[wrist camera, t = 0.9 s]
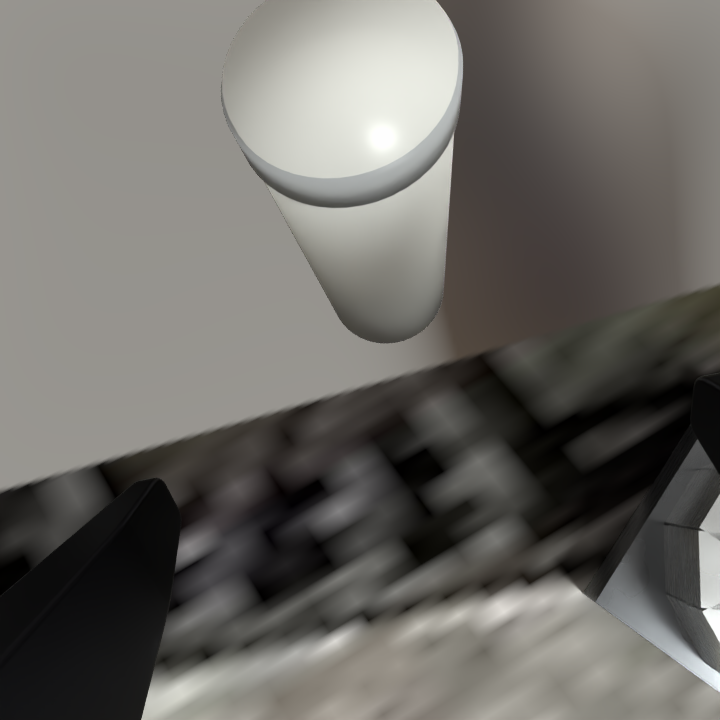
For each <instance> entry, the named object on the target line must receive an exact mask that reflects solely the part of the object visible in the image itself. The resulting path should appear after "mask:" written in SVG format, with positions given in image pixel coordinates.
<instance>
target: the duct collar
mask: <svg viewBox="0 0 720 720" xmlns="http://www.w3.org/2000/svg"><path fill="white" fill-rule="evenodd" d="M583 594H585V595H586V596H587V597H589V598H590V599H592V600H593V601H594V602H596V603H597V604H598V605H600V606H601V607H603V608H604V609H605V610H607V611H608V612H609V613H611V614H612V615H614V616H615V617H616V618H618V619H619V620H620V621H622V622H623V623H625V624H626V625H627V626H629V627H630V628H631V629H633V630H634V631H636V632H637V633H638V634H640V635H641V636H642V637H644V638H645V639H647V640H648V641H649V642H651V643H652V644H653V645H655V646H656V647H657V648H659V649H660V650H662V651H663V652H664V653H666V654H667V655H668V656H670V657H671V658H673V659H674V660H675V661H677V662H678V663H679V664H681V665H682V666H684V667H685V668H686V669H688V670H689V671H690V672H692V673H693V674H695V675H696V676H697V677H699V678H700V679H701V680H703V681H704V682H706V683H707V684H708V685H710V686H711V687H712V688H714V689H715V690H717V691H718V692H719V693H720V475H719V474H718V472H717V470H716V469H715V467H714V465H713V464H712V462H711V461H710V459H709V457H708V456H707V454H706V452H705V451H704V449H703V447H702V446H701V444H700V443H699V441H698V439H697V438H696V436H695V434H694V432H693V430H692V427H691V424H690V425H689V427H688V428H687V430H686V431H685V433H684V435H683V436H682V438H681V439H680V441H679V443H678V444H677V446H676V447H675V449H674V451H673V452H672V454H671V455H670V457H669V458H668V460H667V462H666V463H665V465H664V466H663V468H662V470H661V471H660V473H659V474H658V476H657V477H656V479H655V481H654V482H653V484H652V485H651V487H650V489H649V490H648V492H647V493H646V495H645V497H644V498H643V500H642V501H641V503H640V504H639V506H638V508H637V509H636V511H635V512H634V514H633V516H632V517H631V519H630V520H629V522H628V523H627V525H626V527H625V528H624V530H623V531H622V533H621V535H620V536H619V538H618V539H617V541H616V543H615V544H614V546H613V547H612V549H611V550H610V552H609V554H608V555H607V557H606V558H605V560H604V562H603V563H602V565H601V566H600V568H599V569H598V571H597V573H596V574H595V576H594V577H593V579H592V581H591V582H590V584H589V585H588V587H587V588H586V590H585V592H584V593H583Z"/></svg>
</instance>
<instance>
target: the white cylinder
mask: <svg viewBox="0 0 720 720" xmlns="http://www.w3.org/2000/svg"><path fill="white" fill-rule="evenodd" d="M462 77H463V56H462V50H461V44H460V41H459V38H458V35H457V32H456V30H455V28H454V26H453V24H452V22H451V21H450V19H449V18H448V16H447V14H446V13H445V11H444V10H443V9H442V7H441V6H440V5H439V4H438V2H437V1H436V0H266V1H265V2H263V3H262V4H261V5H260V6H259V7H258V8H257V9H256V10H255V11H254V12H253V13H252V14H251V15H250V16H249V17H248V18H247V19H246V21H245V22H244V23H243V25H242V26H241V28H240V29H239V30H238V32H237V34H236V36H235V38H234V39H233V41H232V43H231V46H230V48H229V50H228V53H227V56H226V60H225V63H224V67H223V76H222V85H221V99H222V106H223V111H224V115H225V118H226V121H227V124H228V126H229V128H230V130H231V132H232V134H233V135H234V137H235V139H236V141H237V143H238V144H239V146H240V148H241V150H242V152H243V153H244V155H245V157H246V159H247V160H248V162H249V164H250V166H251V167H252V168H253V170H254V171H255V172H256V173H257V175H258V176H259V177H260V178H261V179H262V180H263V181H264V182H265V184H266V186H267V187H268V189H269V191H270V193H271V195H272V197H273V199H274V200H275V202H276V204H277V206H278V207H279V209H280V211H281V213H282V215H283V217H284V219H285V220H286V222H287V224H288V226H289V228H290V229H291V231H292V233H293V235H294V237H295V239H296V240H297V242H298V244H299V246H300V248H301V250H302V251H303V253H304V255H305V257H306V259H307V260H308V262H309V264H310V266H311V267H312V270H313V271H314V273H315V275H316V277H317V279H318V280H319V282H320V284H321V286H322V288H323V290H324V291H325V293H326V295H327V297H328V298H329V300H330V302H331V304H332V306H333V308H334V310H335V311H336V313H337V315H338V317H339V319H340V320H341V321H342V323H343V324H344V325H345V326H346V327H347V328H348V329H349V330H350V331H351V332H352V333H354V334H355V335H357V336H359V337H360V338H363V339H365V340H368V341H372V342H376V343H395V342H400V341H404V340H406V339H409V338H411V337H413V336H415V335H417V334H418V333H420V332H421V331H423V330H424V329H425V328H426V327H427V326H428V325H429V324H430V323H431V322H432V320H433V319H434V318H435V316H436V314H437V313H438V310H439V308H440V306H441V302H442V299H443V291H444V275H445V260H446V245H447V230H448V215H449V200H450V185H451V170H452V154H453V139H454V131H455V128H456V125H457V121H458V117H459V109H460V103H461V90H462Z"/></svg>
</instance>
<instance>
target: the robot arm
mask: <svg viewBox="0 0 720 720" xmlns="http://www.w3.org/2000/svg"><path fill="white" fill-rule="evenodd" d="M690 422H691V427H692V430H693V432H694V434H695V436H696V438H697V439H698V441H699V443H700V444H701V446H702V447H703V449H704V451H705V452H706V454H707V456H708V457H709V459H710V461H711V462H712V464H713V465H714V467H715V469H716V470H717V472H718V474H719V475H720V373H716V374H711V375H706V376H701V377H699V378H698V379H697V380H696V381H695V383H694V388H693V397H692V406H691V415H690ZM180 529H181V515H180V511H179V509H178V507H177V505H176V503H175V501H174V499H173V498H172V496H171V494H170V492H169V490H168V488H167V486H166V484H165V483H164V481H163V480H162V479H160V478H151V479H146V480H140V481H137V482H135V483H134V484H132V485H131V486H130V487H129V488H128V489H126V490H125V491H124V492H123V493H122V494H121V495H119V496H118V497H117V498H116V499H115V500H113V501H112V502H111V503H110V504H109V505H108V506H106V507H105V508H104V509H103V510H102V511H100V512H99V513H98V514H97V515H96V516H95V517H93V518H92V519H91V520H90V521H89V522H87V523H86V524H85V525H84V526H83V527H82V528H80V529H79V530H78V531H77V532H76V533H75V534H73V535H72V536H71V537H70V538H69V539H67V540H66V541H65V542H64V543H63V544H62V545H60V546H59V547H58V548H57V549H56V550H54V551H53V552H52V553H51V554H50V555H49V556H47V557H46V558H45V559H44V560H43V561H41V562H40V563H39V564H38V565H37V566H36V567H34V568H33V569H32V570H31V571H30V572H28V573H27V574H26V575H25V576H24V577H23V578H21V579H20V580H19V581H18V582H17V583H15V584H14V585H13V586H12V587H11V588H10V589H8V590H7V591H6V592H5V593H4V594H2V595H1V596H0V720H141V718H142V714H143V710H144V706H145V702H146V698H147V694H148V690H149V686H150V682H151V678H152V674H153V670H154V666H155V662H156V658H157V654H158V650H159V646H160V642H161V638H162V634H163V630H164V626H165V622H166V618H167V614H168V609H169V604H170V599H171V593H172V586H173V579H174V572H175V564H176V557H177V550H178V543H179V536H180Z"/></svg>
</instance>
